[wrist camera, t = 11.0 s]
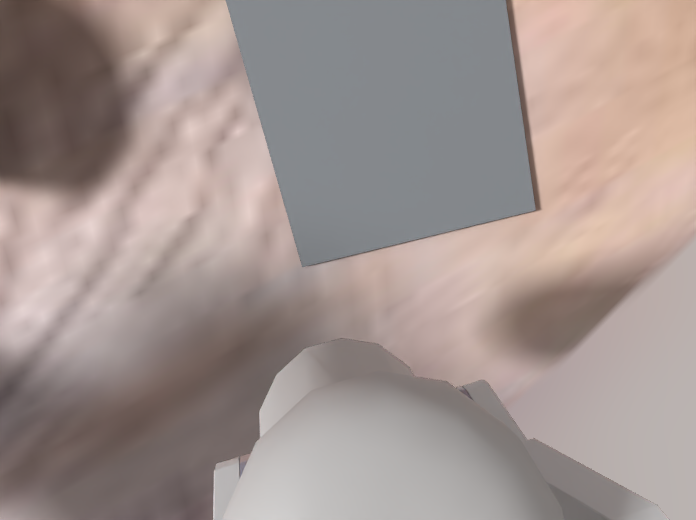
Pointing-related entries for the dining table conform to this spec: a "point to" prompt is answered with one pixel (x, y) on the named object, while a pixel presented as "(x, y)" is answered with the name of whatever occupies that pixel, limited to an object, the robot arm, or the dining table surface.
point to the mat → (386, 117)
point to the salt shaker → (382, 447)
